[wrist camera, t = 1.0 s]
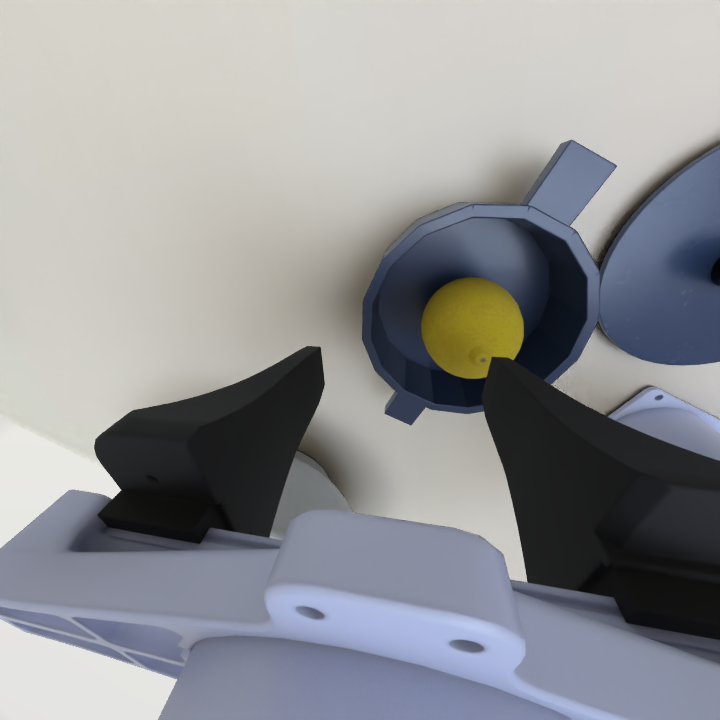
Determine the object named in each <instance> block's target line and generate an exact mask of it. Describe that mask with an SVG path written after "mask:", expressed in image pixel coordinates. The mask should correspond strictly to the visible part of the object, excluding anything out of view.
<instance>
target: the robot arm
mask: <svg viewBox="0 0 720 720" xmlns="http://www.w3.org/2000/svg"><path fill="white" fill-rule="evenodd" d="M324 386H325V382H324V373H323V364H322V355H321V347H313V346H307V347H305V348H303V349H301V350H299V351H297V352H295V353H294V354H292V355H290V356H289V357H287V358H285V359H283V360H282V361H280V362H278V363H276V364H275V365H273V366H271V367H269V368H267V369H265V370H263V371H261V372H260V373H258V374H256V375H254V376H251V377H249V378H247V379H245V380H242V381H240V382H238V383H235V384H233V385H230V386H227V387H224V388H221V389H219V390H216V391H213V392H210V393H207V394H203V395H200V396H196V397H193V398H189V399H185V400H181V401H177V402H173V403H168V404H163V405H158V406H153V407H148V408H143V409H137V410H133V411H131V412H130V413H128V414H127V415H126V416H124V417H123V418H122V419H120V420H119V421H118V422H116V423H115V424H114V425H112V426H111V427H110V428H108V429H107V430H106V431H104V432H103V433H102V434H101V435H99V436H98V437H97V438H96V440H95V445H94V449H95V453H96V456H97V458H98V459H99V461H100V463H101V464H102V465H103V467H104V468H105V469H106V471H107V472H108V473H109V474H110V476H111V477H112V478H113V479H114V481H115V482H116V483H117V485H118V486H119V487H120V489H121V491H120V492H119V493H118V494H117V495H116V496H115V498H113V499H111V498H109V497H107V496H105V495H101V494H97V493H91V492H85V491H79V490H69V491H68V492H66V493H65V494H64V495H63V496H62V497H60V498H59V499H58V500H57V501H56V502H55V503H53V504H52V505H51V506H50V507H49V508H48V509H46V510H45V511H44V512H43V513H42V514H40V515H39V516H38V517H37V518H36V519H35V520H33V521H32V522H31V523H30V524H29V525H28V526H26V527H25V528H24V529H23V530H22V531H20V532H19V533H18V534H17V535H16V536H15V537H14V538H12V539H11V540H10V541H9V542H8V543H6V544H5V545H4V546H3V547H2V548H0V619H2V620H4V621H6V622H8V623H9V624H11V625H13V626H15V627H17V628H19V629H21V630H23V631H25V632H27V633H31V634H35V635H38V636H41V637H45V638H49V639H52V640H56V641H59V642H62V643H66V644H69V645H73V646H76V647H79V648H82V649H86V650H89V651H92V652H95V653H98V654H101V655H104V656H107V657H110V658H113V659H116V660H120V661H123V662H126V663H129V664H132V665H135V666H138V667H141V668H144V669H147V670H150V671H153V672H156V673H159V674H162V675H165V676H168V677H171V678H174V679H177V682H176V684H175V686H174V688H173V690H172V692H171V694H170V696H169V698H168V700H167V702H166V704H165V706H164V708H163V710H162V713H161V715H160V717H159V719H158V720H720V419H718V418H716V417H714V416H712V415H710V414H708V413H706V412H704V411H702V410H700V409H698V408H696V407H694V406H692V405H690V404H688V403H686V402H684V401H682V400H680V399H678V398H676V397H674V396H672V395H670V394H668V393H666V392H664V391H662V390H660V389H658V388H656V387H649V388H646V389H644V390H643V391H642V392H640V393H639V394H638V395H636V396H635V397H634V398H632V399H631V400H629V401H628V402H627V403H625V404H624V405H623V406H621V407H620V408H619V409H617V410H616V411H614V412H613V413H612V414H610V415H609V416H608V417H607V416H605V415H603V414H601V413H599V412H597V411H595V410H593V409H591V408H589V407H587V406H585V405H583V404H582V403H580V402H578V401H576V400H574V399H573V398H571V397H569V396H568V395H566V394H564V393H563V392H561V391H559V390H558V389H556V388H554V387H553V386H551V385H550V384H548V383H547V382H545V381H544V380H542V379H541V378H539V377H538V376H536V375H535V374H533V373H532V372H530V371H529V370H527V369H526V368H524V367H523V366H521V365H520V364H518V363H517V362H515V361H514V360H512V359H510V358H508V357H492V358H491V362H490V366H489V370H488V373H487V377H486V381H485V385H484V389H483V393H482V402H483V408H484V413H485V417H486V420H487V423H488V426H489V429H490V432H491V434H492V437H493V440H494V443H495V445H496V448H497V451H498V453H499V456H500V459H501V462H502V464H503V468H504V471H505V474H506V477H507V481H508V486H509V490H510V494H511V498H512V502H513V507H514V512H515V516H516V521H517V526H518V531H519V536H520V541H521V547H522V552H523V557H524V563H525V569H526V575H527V581H528V583H527V582H521V581H515V580H510V578H509V575H508V571H507V567H506V563H505V559H504V555H503V553H501V552H500V551H499V550H498V549H496V548H495V547H494V546H493V545H491V544H490V543H489V542H488V541H486V540H485V539H484V538H483V537H481V536H479V535H476V534H473V533H470V532H466V531H463V530H460V529H456V528H452V527H445V526H438V525H432V524H425V523H418V522H412V521H405V520H398V519H392V518H385V517H378V516H372V515H365V514H358V513H352V512H345V511H338V510H309V511H307V512H305V513H303V514H301V515H299V516H297V517H295V518H293V519H291V520H290V523H289V526H288V528H287V531H286V534H285V536H284V539H283V540H278V539H273V538H269V537H270V533H271V530H272V526H273V522H274V519H275V516H276V512H277V509H278V505H279V502H280V499H281V495H282V492H283V489H284V486H285V483H286V480H287V477H288V474H289V471H290V468H291V465H292V462H293V459H294V457H295V454H296V451H297V449H298V446H299V444H300V442H301V440H302V438H303V435H304V433H305V431H306V429H307V427H308V425H309V423H310V421H311V419H312V417H313V415H314V413H315V411H316V408H317V406H318V404H319V402H320V399H321V396H322V392H323V389H324ZM657 395H658V396H657Z"/></svg>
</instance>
